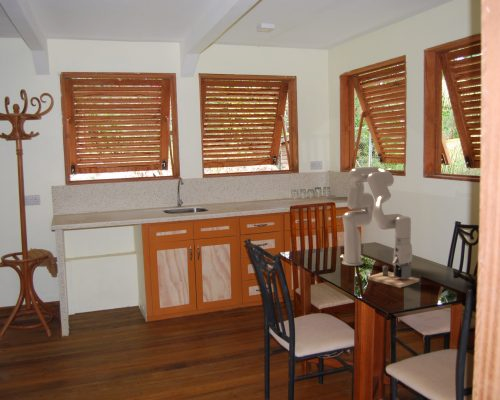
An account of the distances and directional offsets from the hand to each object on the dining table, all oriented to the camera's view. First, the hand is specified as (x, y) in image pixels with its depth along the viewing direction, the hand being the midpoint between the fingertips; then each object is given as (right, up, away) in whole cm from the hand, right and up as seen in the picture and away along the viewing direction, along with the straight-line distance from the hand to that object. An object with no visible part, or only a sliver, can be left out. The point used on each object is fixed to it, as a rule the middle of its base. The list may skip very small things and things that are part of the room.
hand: (402, 275), depth 247 cm
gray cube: (0, -1, 0) cm, 1 cm away
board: (-3, -4, +5) cm, 7 cm away
